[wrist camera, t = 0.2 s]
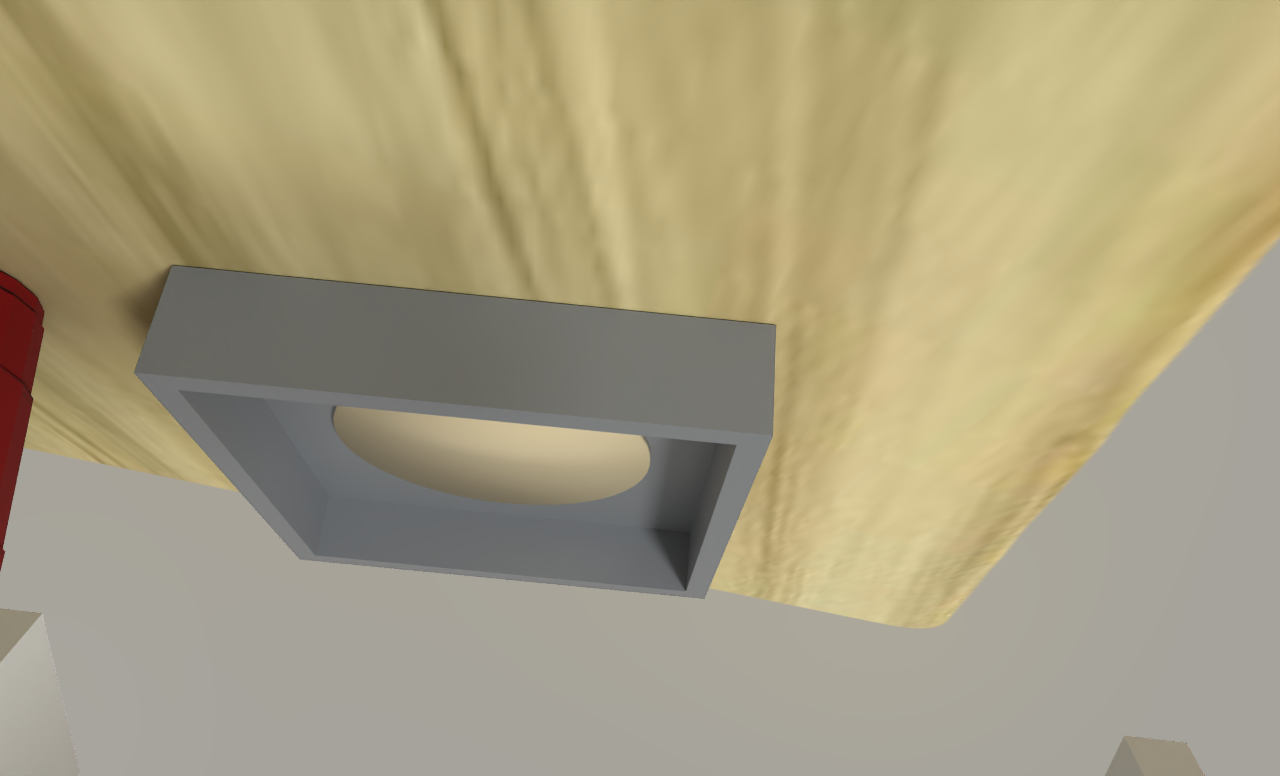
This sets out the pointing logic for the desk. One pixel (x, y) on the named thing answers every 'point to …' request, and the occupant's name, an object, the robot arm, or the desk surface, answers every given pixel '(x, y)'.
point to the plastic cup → (15, 382)
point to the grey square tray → (470, 426)
